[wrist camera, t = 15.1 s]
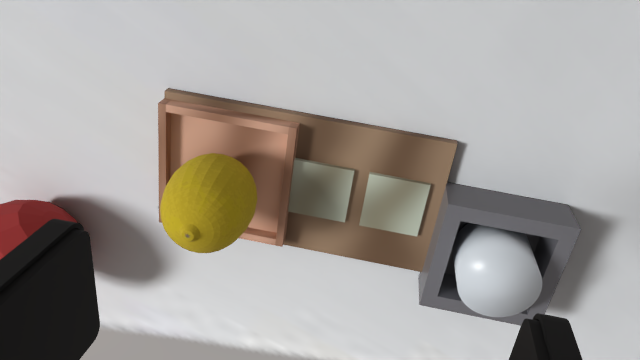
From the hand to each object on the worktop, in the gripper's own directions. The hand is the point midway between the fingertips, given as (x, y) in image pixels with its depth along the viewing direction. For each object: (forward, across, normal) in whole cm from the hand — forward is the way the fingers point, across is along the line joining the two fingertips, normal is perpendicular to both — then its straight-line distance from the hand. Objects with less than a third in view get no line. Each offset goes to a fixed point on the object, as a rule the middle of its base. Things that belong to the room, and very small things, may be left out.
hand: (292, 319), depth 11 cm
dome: (+23, -9, +12) cm, 28 cm away
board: (+24, +4, +9) cm, 26 cm away
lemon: (+23, +9, +9) cm, 26 cm away
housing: (+24, -9, +12) cm, 28 cm away
